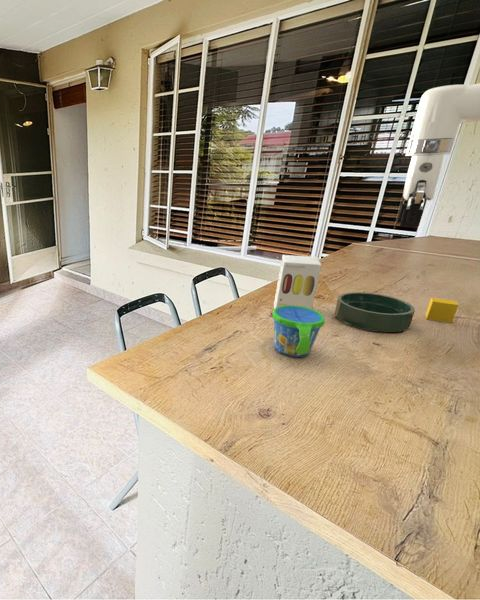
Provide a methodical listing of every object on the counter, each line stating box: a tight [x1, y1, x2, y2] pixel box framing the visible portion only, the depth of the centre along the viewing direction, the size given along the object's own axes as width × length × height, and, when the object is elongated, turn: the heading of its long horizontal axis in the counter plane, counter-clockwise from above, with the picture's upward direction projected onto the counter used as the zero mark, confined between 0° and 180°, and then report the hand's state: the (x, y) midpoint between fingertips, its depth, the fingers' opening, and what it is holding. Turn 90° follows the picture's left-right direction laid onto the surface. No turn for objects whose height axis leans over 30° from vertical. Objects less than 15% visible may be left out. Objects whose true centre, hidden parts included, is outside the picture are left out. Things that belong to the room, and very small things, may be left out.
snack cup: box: [272, 306, 326, 358], centre depth 85 cm, size 16×10×10 cm
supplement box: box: [273, 254, 322, 310], centre depth 104 cm, size 10×9×17 cm
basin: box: [333, 291, 416, 333], centre depth 98 cm, size 17×17×6 cm
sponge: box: [425, 297, 459, 324], centre depth 97 cm, size 5×3×6 cm, turn 52°
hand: (407, 223), depth 86 cm, fingers open, 9 cm apart
